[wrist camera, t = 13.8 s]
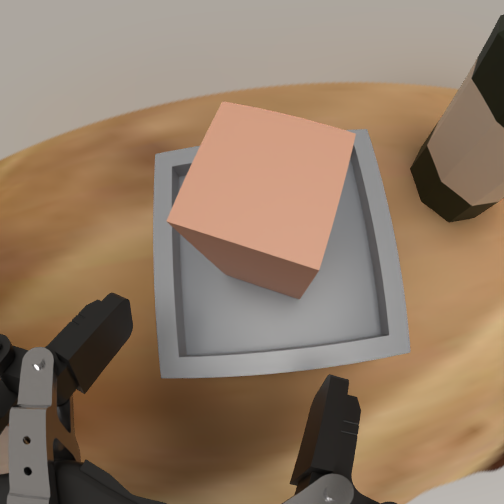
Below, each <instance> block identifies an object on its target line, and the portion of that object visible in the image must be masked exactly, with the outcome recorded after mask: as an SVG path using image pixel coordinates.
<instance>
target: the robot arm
mask: <svg viewBox="0 0 504 504" xmlns="http://www.w3.org/2000/svg"><path fill="white" fill-rule="evenodd" d="M132 329H133V322H132V315H131V308H130V302H129V300H128V299H126V298H124V297H121V296H119V295H117V294H115V293H110V294H108V295H107V296H106V297H105V298H104V299H103V300H102V301H100V300H96V301H94V302H92V303H90V304H88V305H86V306H85V307H84V308H83V309H82V310H81V311H80V312H79V313H78V316H76V317H75V318H74V319H73V320H72V322H70V323H69V324H68V325H67V326H66V327H65V328H64V329H63V330H62V331H61V332H60V333H59V334H58V335H57V336H56V337H55V338H54V339H53V340H52V341H51V342H50V344H48V345H47V346H46V347H45V348H43V347H36V348H33V349H31V350H29V351H28V350H25V349H22V348H18V347H15V346H12V344H11V342H10V341H9V339H8V338H7V337H6V336H5V335H1V334H0V379H1V380H0V435H1V433H2V432H3V430H4V429H5V427H6V426H7V424H8V423H9V441H8V457H9V473H5V474H0V504H166V503H163V502H159V501H154V500H150V499H146V498H142V497H138V496H135V495H133V494H131V493H130V492H129V491H128V490H126V489H125V488H124V487H123V486H122V485H121V484H120V483H119V482H118V481H116V480H115V479H114V478H113V477H112V476H111V475H110V474H109V473H107V472H105V471H104V470H102V469H100V468H99V467H97V466H95V465H94V464H92V463H91V462H89V461H88V460H85V462H84V463H82V462H81V456H80V450H79V446H78V443H77V441H76V437H75V428H74V408H73V393H74V391H75V390H76V389H77V390H79V391H81V392H82V393H84V394H85V393H86V392H87V391H88V389H89V388H90V387H91V385H92V384H93V383H94V381H95V380H96V379H97V378H98V376H99V375H100V374H101V372H102V371H103V370H104V369H105V367H106V366H107V365H108V364H109V362H110V361H111V360H112V358H113V357H114V356H115V355H116V353H117V352H118V351H119V350H120V348H121V347H122V346H123V345H124V343H125V342H126V341H127V340H128V338H129V337H130V335H131V332H132ZM348 386H349V380H348V379H344V378H340V377H337V376H333V375H330V374H329V375H328V376H327V378H326V379H325V381H324V383H323V384H322V386H321V387H320V389H319V391H318V392H317V394H316V395H315V397H314V400H313V402H312V405H311V408H310V412H309V416H308V420H307V424H306V428H305V432H304V435H303V439H302V443H301V447H300V450H299V454H298V457H297V461H296V464H295V468H294V471H293V474H292V478H291V481H290V484H292V485H296V486H297V488H296V492H295V495H294V496H293V497H291V498H290V499H288V500H286V501H285V502H283V503H282V504H380V503H378V502H376V501H374V500H372V499H370V498H368V497H366V496H364V495H362V494H361V493H360V492H358V491H357V489H356V488H355V487H354V485H353V482H352V478H351V473H352V467H353V461H354V455H355V449H356V442H357V434H358V428H359V426H358V425H359V421H360V413H361V409H360V406H359V402H358V399H357V397H354V396H350V395H347V393H348ZM381 504H397V503H394V502H384V503H381Z"/></svg>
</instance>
